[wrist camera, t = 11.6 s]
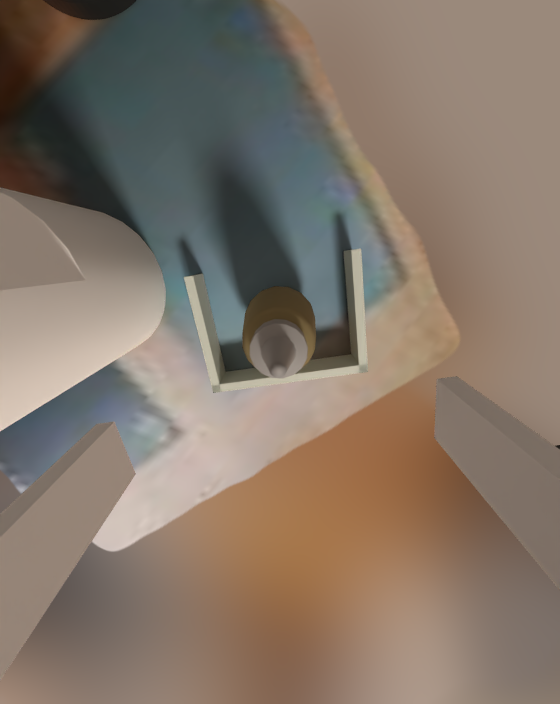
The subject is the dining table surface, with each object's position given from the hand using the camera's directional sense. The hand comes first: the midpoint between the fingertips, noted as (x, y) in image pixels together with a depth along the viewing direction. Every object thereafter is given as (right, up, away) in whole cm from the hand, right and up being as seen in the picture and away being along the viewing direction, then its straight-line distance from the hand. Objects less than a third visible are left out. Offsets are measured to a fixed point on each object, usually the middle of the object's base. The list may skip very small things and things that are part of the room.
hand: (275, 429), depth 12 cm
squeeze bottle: (0, +8, +24) cm, 25 cm away
